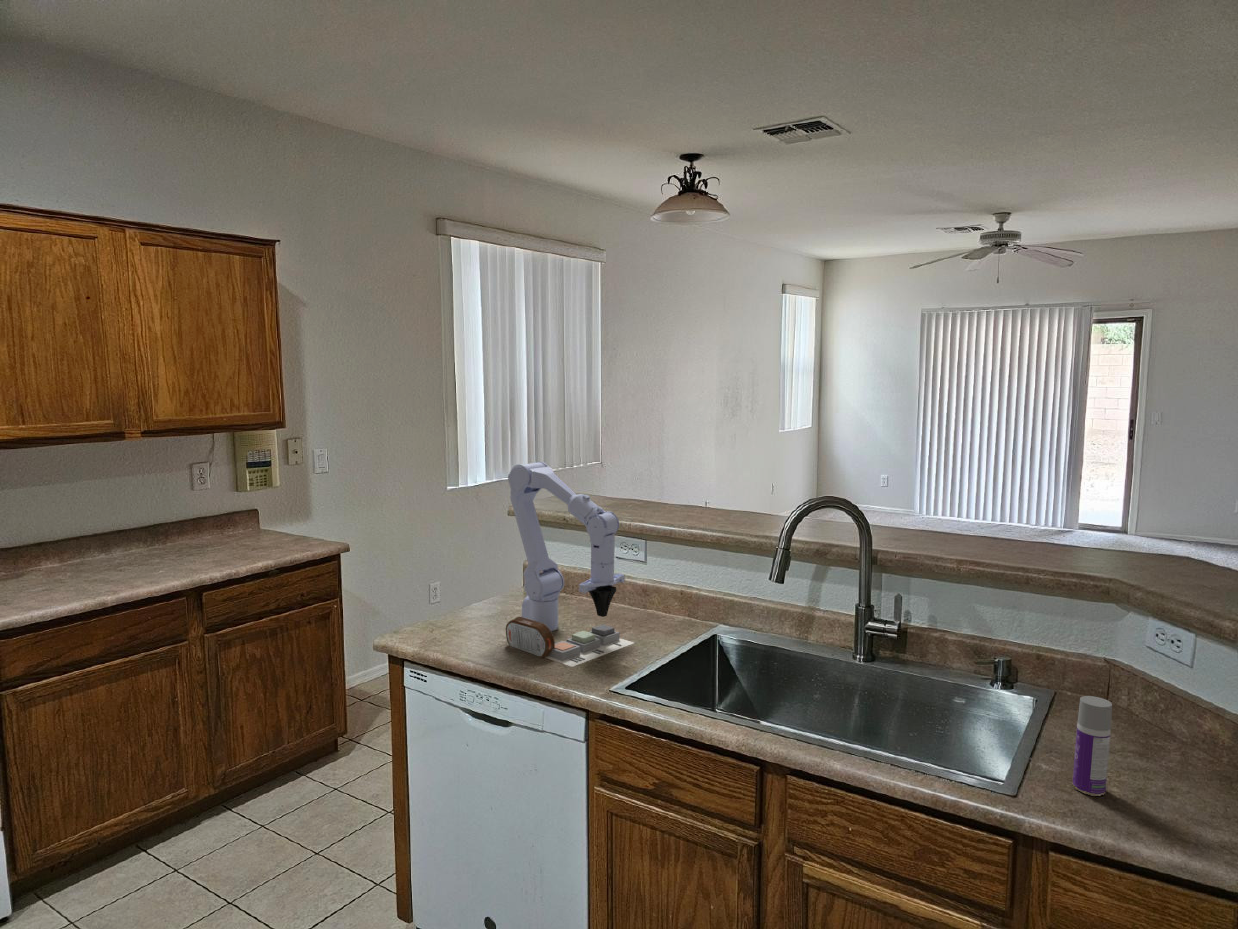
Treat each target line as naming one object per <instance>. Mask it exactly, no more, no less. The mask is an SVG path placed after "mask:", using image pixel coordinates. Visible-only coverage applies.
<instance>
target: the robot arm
mask: <svg viewBox="0 0 1238 929" xmlns="http://www.w3.org/2000/svg"><path fill="white" fill-rule="evenodd" d="M507 479H508V484H509V487H510V502H511V507H512V508H513V514H514V517H515V520H516V523H517V527H518V531H519V535H520V538H521V542H522V545H523V550H524V552H525V557H526V560H527V566H526V568H525V570H524V571H523V577H524V585H523V586H524V587H523V588H524V591H525V594H526V596H525V597H524V598H523V601H522V604H521V617H523V618H526V619H530V620H533V621H537V622H541V623H543V624H545V625H546V626H547V627H548V628H549V629H550V631H551V632H553V631H555V630H556V631H557V630H558V628H559V596H560V593H561V591H562V590H563V589H564V586H565V578H564V576H563V574H562V572H561V571H560V570H559V568H558V564H557V563H556V562H555V561H554V560H552V559H551V558H550V557H549V554H548V551H547V550H548V549H547V546H546V543H545V539H544V536H543V531H542V529H541V525H540V522H539V517H538V514H537V510H536V507H535V504H534V499H535V498H536V496H537V494H538V493H539V492H540V491H541V490H542V489H545V490H547V492H549V493H550V494H552V495H554V496H555V497H556V498H558V499H559V500H561V501H562V502H563V503H564V504H566V505H567V510H568V512H569V513H570V514H571V516H573V517H574V518H575V519H576V520H578V521H579V522H580V523H581V524H583V525H584V526H585V528H586V531H587V532H586V533H587V534H588V536H589V542H590V578H589V579H587V580H585V581H583V582H581V583H579V584H578V592H579V593H582V594H587V593H589V595H590V596H591V599H592V601H593V603H594V607H595V611H596V615H597V616H599V617H600V618H601V617H602V618H604V617H605V618H606V617H607V615H608V612H609V609H610V604H611V602H612V599H613V598H614V595H615V594H616V593H617V587H616V586H614V585H617V584H618V583H621V584H622V583H625V581H626V580H625V579H626V578H625V577H626V576H625V574H622V573H621V572H619V573H615V538H616V537H615V534H616V533H617V532H618V530H619V529H620V521H619V518H618V516H617V515H616V514H615V512H614V511H610V510H607V511H605V510H604V508H603V507H601V506H599V505H597V504H596V503H595V502H594V501H592V500H591V496H590V495H588V494H584V493H579V494H577V493H576V492H574V491H573V490H572V489H571V488H570V487H569V486H568V485H567V483H565V482H564V481H563V480H561V478H560V477H558V476H557V474H556V473H555V472H554V469H553V468H552V467H550V466H548V464H547V463H546V462H544V461H536V462H531V463H524V464H520V463H518V464H515V465H514V466H513V467H512V468H511V470H510V471H509V474H508V475H507Z"/></svg>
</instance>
